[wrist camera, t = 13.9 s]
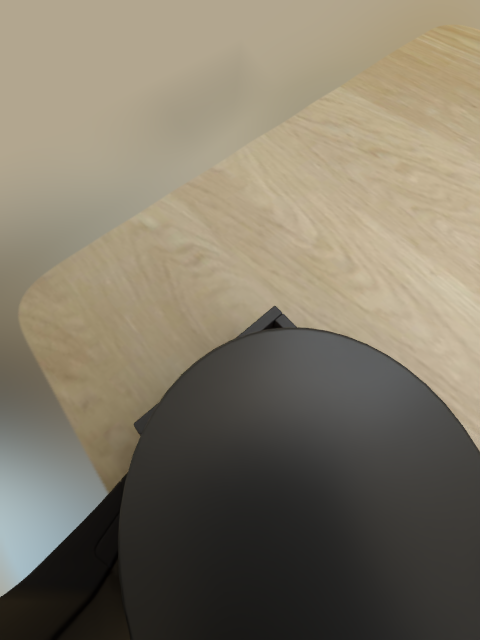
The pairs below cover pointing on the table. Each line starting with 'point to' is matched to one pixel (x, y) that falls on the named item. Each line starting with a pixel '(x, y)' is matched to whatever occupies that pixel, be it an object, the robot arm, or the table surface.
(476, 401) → the table surface
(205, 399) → the takeaway cup
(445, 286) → the table surface
